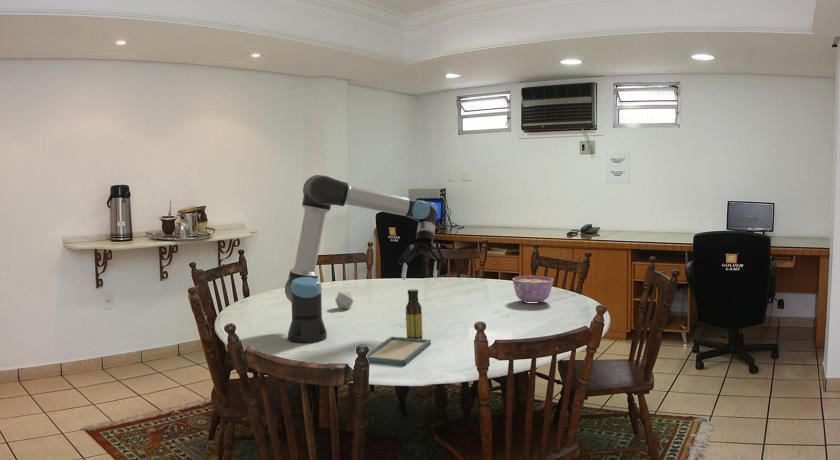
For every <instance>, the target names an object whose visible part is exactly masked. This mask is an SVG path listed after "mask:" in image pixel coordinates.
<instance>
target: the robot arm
mask: <svg viewBox="0 0 840 460" xmlns="http://www.w3.org/2000/svg"><path fill="white" fill-rule="evenodd" d="M302 193H303V198H302V204H301V206H302V208H303V209H304V214H303V219H302V222H301V223H302V224H301V231H300V235H299V239H298V247H297V252H296V256H295V262H294V267H292V268H291V269H290V270H289V274H288V279H287V281H286V283H285V285H284V294H285V296H286V298H287V299H288V301H289V302H290V303H291V322H290V326H289V328H288V332H287V340H288V341H290V342H292V343H300V344H303V343H305V344H306V343H307V344H308V343H317V342H320V341H324V340H326V339H327V337H328V336H327V335H328V334H327V333H328V332H327V329H326V327H325V322H324V320H323V315H322V314H323V311H322V309H323V308H322V305H323V303H322V302H323V301H322V300H323V299H322V283H321V281H320V279H319V278H318V277H319V275H318V273H317V272H316V268H317V262H318V259H319V252H320V247H321V241H322V235H323V230H324V224H325V220H326V214H328V213H329V212H330V210H331V207H332V206H339V207H345V206H352V207H357V208H362V209H363V208H364V209H368V210H371V211H373V210H374V211H376V212H377V211H378V212H383V213H387V214H388V213H389V214H392V215H398V216H404V217H407V218H409V219H412V220H414V221H417V222H418V223H417V228H416V229H417V230H416V236H415V243H414V244H411V243H410V242H409V243H407V246H406V247H405V250H404V251H403V252H402V253H401V255H400V256H399V257H398V259H397V263H398V264H399V265H400V266H401V267H400V271H401V278H402V280H406V278H407V271H408V264H409V263H410V262H412V260H413V259H414V258H415V257H417V256H418V255H427V254H429V255H430V256H431V257H432V258H433V259H434V260H435V261H434V265H433V273H432V276H433V278H434V279H437V277H438V271H440V270H441V266H442V265H441V264H443V263H444V264H445V263H446V262H447V261H446V259H445V258H444V257H445V256H444V254H443V253H442V251H441V244H440V243H439V241H435V242H434V238H435V234H436V233H435V231H436V226H437V225H436V223H437V217H438V206H437V204H436V203H434V202H432V201H430V202H429V201H425V200H420V199H414V198H409V197H407V196H404V195H395V194H391V193H387V192H381V191H377V190H372V189H369V188H363V187H357V186H352V185H350V183H348V182H345V181H342V180H338V179H335V178H333V177H330V176H327V175H322V174H321V175H319V174H317V175H316V174H315V175H313V176H310V177H309V178H307V180H306V181H305V182H304V184H303V187H302ZM433 248H435V249H436V250H437V253H438V255H439V257H438V256H437V255H436V254H435V252H434V251H433Z"/></svg>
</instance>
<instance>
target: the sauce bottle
mask: <svg viewBox="0 0 840 460" xmlns="http://www.w3.org/2000/svg"><path fill="white" fill-rule="evenodd" d="M407 297H408V302H407V304H406V306H405V323H406V324H405V326H406V338H415V339H423V335H424V334H423V314H422V305H421V304H420V302H419V289H417V288H411V289H407Z"/></svg>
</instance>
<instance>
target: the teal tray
mask: <svg viewBox="0 0 840 460" xmlns="http://www.w3.org/2000/svg"><path fill="white" fill-rule="evenodd" d="M431 341H432V340H431V339H425V338H422V339H415V338H407V337H403V336H402V337H400V336H389V338H387V339H386V340H384V341H383V342H381V343H379V344H378V345H376V346H375V347H374V348H372V349H370V350H369V351H368V352H369V354H368V355H367V358H368V360H369V362H368V363H372V364H379V365H380V364H381V365H391V366H392V365H393V366H401V367H402V366H403V367H405V366H407V365H408V364H409V363H410V362H412V361H413V360H414V359H415V358H416V357H418V356H419V355H420V354H421V353H422V352H424V351H425V350H426V349H427V348H428V347H429V346H430V345H431V344H432V342H431Z"/></svg>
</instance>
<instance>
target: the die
mask: <svg viewBox="0 0 840 460" xmlns="http://www.w3.org/2000/svg"><path fill="white" fill-rule="evenodd" d="M334 300H335V303H336V305H337V308H338V310H350V309H351V307H352V305H353V303H354V300H353V297H352V294H351V292H349V291H343V292H341V291H339V292H338V294H337V295H336V297H335V299H334Z"/></svg>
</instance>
